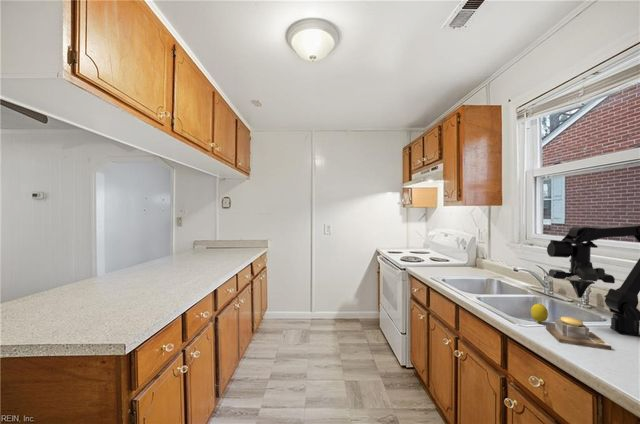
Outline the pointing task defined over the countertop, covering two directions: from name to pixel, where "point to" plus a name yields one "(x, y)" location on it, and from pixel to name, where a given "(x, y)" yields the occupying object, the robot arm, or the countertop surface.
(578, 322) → the button
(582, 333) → the board
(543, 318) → the lemon
